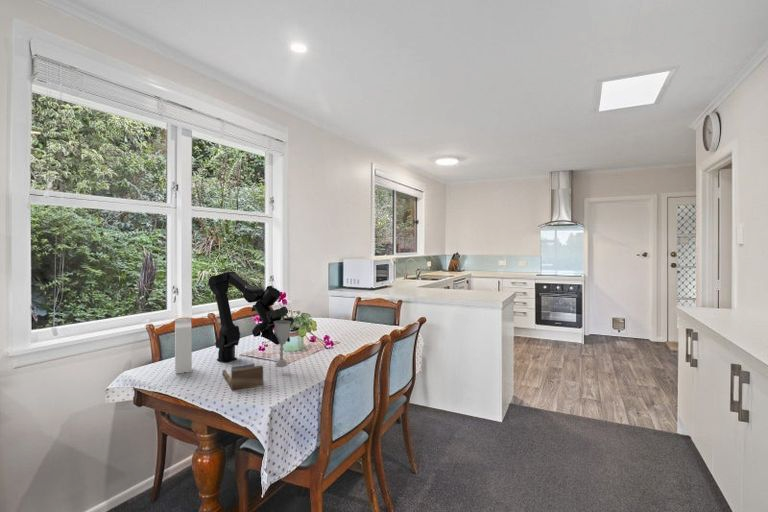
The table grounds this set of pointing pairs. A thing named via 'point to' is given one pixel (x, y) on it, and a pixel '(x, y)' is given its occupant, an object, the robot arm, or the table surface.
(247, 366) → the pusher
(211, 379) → the table surface
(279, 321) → the chalice
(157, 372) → the table surface
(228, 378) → the brown wooden u-shaped piece
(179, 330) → the milk
